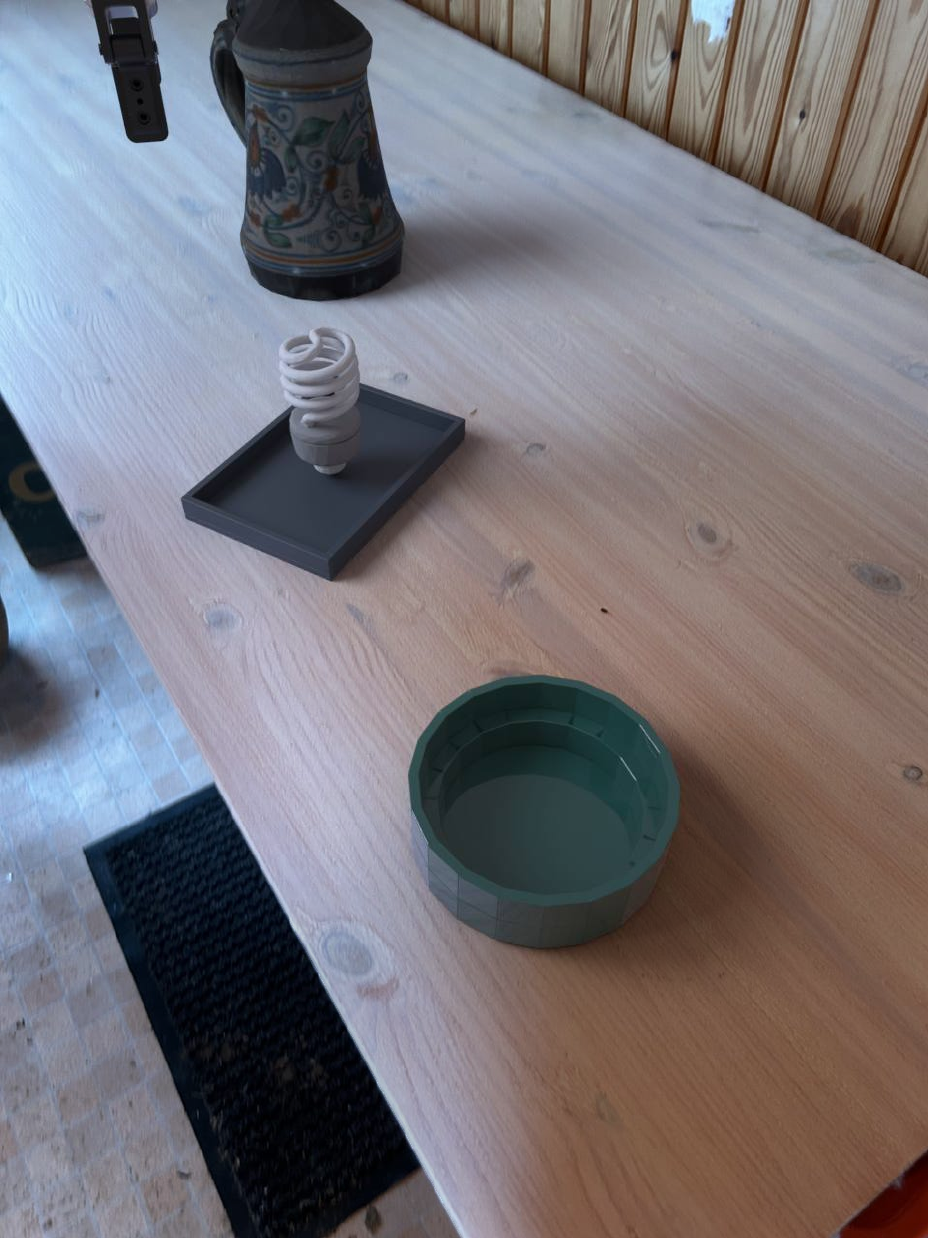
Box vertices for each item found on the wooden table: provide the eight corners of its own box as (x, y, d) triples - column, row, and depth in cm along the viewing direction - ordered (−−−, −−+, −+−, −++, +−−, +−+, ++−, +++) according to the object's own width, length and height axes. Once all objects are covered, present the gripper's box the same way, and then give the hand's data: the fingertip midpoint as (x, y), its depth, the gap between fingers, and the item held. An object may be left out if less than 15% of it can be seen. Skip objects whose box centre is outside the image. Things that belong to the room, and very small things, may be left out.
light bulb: (338, 505, 72) (323, 365, 64) (279, 479, 74) (257, 340, 66) (381, 465, 76) (372, 327, 67) (324, 442, 78) (308, 305, 69)
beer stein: (382, 311, 93) (366, 15, 74) (192, 289, 95) (131, -3, 77) (422, 234, 104) (416, -40, 85) (250, 216, 106) (209, -54, 88)
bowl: (601, 1000, 48) (613, 958, 44) (362, 870, 52) (355, 822, 49) (700, 789, 56) (717, 739, 53) (487, 693, 61) (489, 641, 57)
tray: (330, 581, 68) (328, 560, 66) (185, 518, 72) (179, 497, 70) (465, 439, 79) (465, 418, 78) (332, 392, 83) (330, 372, 82)
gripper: (-11, -291, 47) (79, 74, 59) (-38, -263, 37) (75, 166, 49) (148, -290, 48) (204, 67, 60) (160, -263, 39) (224, 154, 51)
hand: (146, 111), depth 55 cm, fingers open, 8 cm apart
